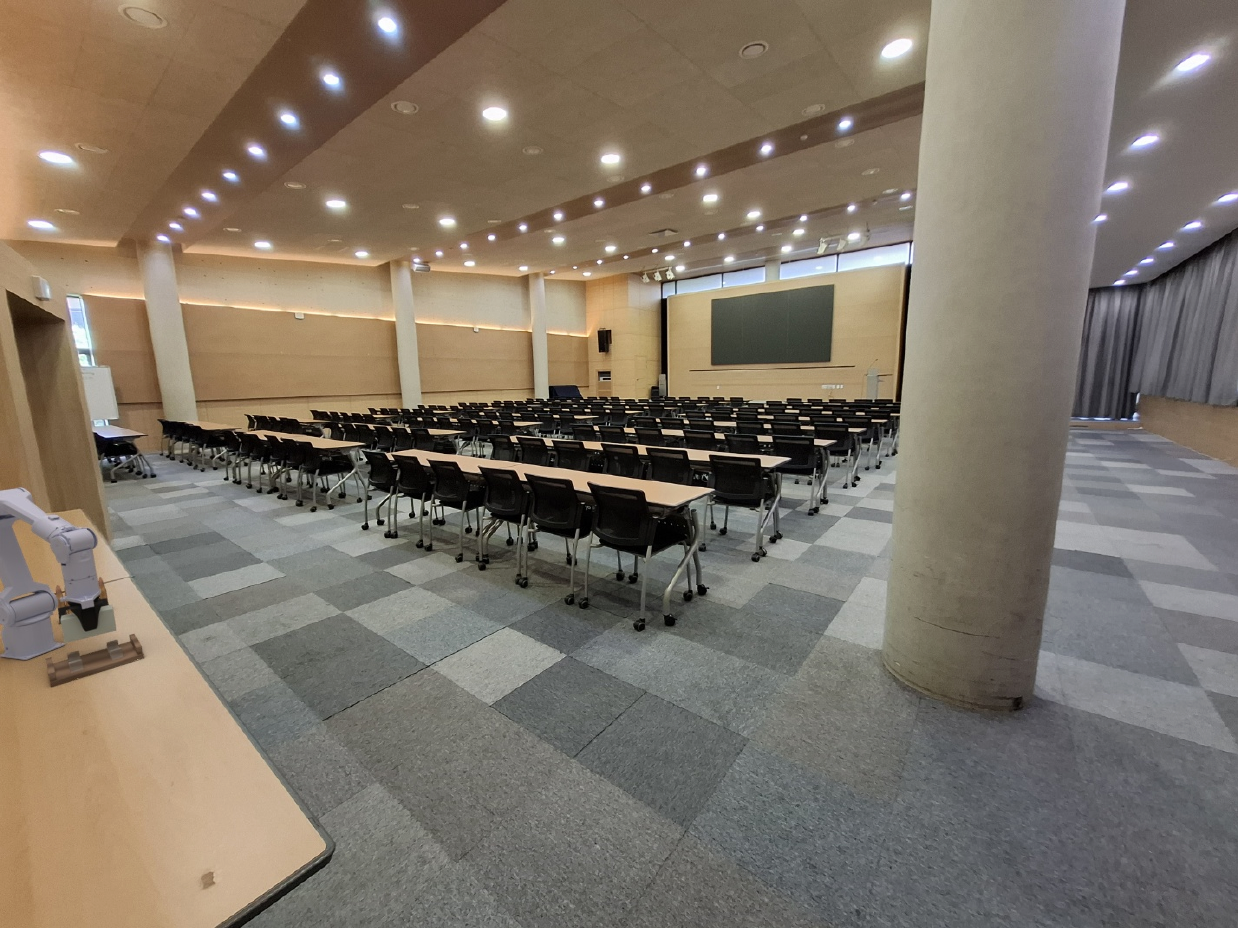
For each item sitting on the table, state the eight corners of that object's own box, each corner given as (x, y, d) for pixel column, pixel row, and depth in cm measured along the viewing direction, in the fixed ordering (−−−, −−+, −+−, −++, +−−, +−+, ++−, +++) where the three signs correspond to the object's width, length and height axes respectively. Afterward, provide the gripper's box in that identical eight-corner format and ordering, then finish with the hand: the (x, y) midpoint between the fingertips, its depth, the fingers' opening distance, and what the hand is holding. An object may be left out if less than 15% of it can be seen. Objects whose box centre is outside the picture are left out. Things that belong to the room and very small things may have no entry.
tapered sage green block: (65, 637, 125) (61, 615, 124) (116, 625, 131) (112, 604, 130) (64, 643, 122) (60, 620, 121) (116, 630, 128) (112, 608, 127)
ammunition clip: (59, 624, 147) (52, 586, 146) (60, 622, 149) (52, 584, 147) (110, 612, 155) (104, 576, 153) (110, 611, 156) (104, 575, 154)
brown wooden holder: (47, 669, 123) (45, 656, 122) (135, 643, 135) (133, 631, 135) (51, 687, 116) (48, 673, 115) (144, 658, 128) (142, 645, 128)
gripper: (54, 575, 125) (63, 625, 127) (59, 588, 117) (69, 641, 119) (94, 567, 131) (102, 615, 133) (101, 579, 122) (110, 630, 124)
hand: (89, 627), depth 126 cm, fingers closed on tapered sage green block, 4 cm apart
